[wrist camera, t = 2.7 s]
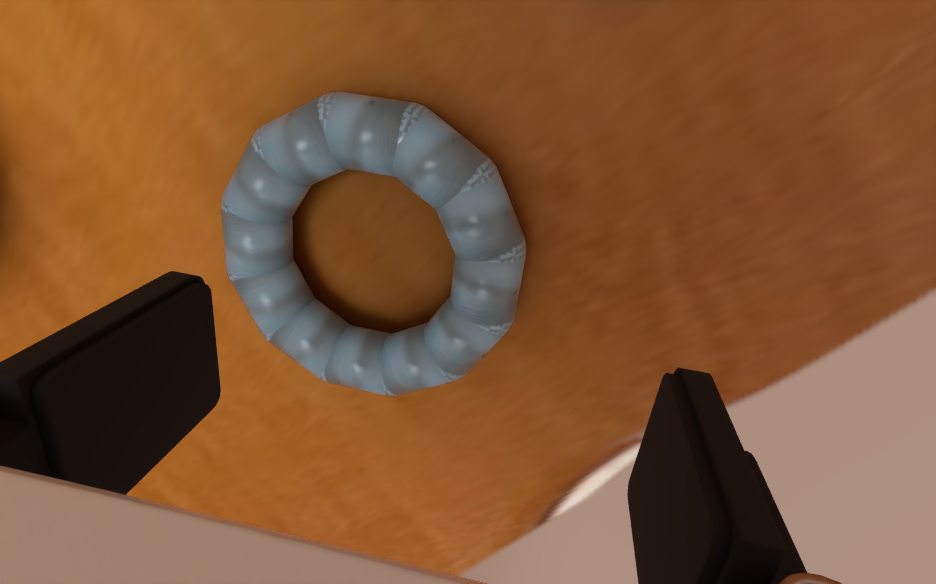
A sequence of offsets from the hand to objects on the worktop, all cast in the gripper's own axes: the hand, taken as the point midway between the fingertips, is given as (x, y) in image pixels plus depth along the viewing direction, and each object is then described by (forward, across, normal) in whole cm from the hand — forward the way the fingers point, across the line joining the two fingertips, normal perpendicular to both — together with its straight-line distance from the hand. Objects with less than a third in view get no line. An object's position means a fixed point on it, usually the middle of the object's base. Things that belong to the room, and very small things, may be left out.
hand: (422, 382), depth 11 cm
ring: (+6, +3, 0) cm, 6 cm away
